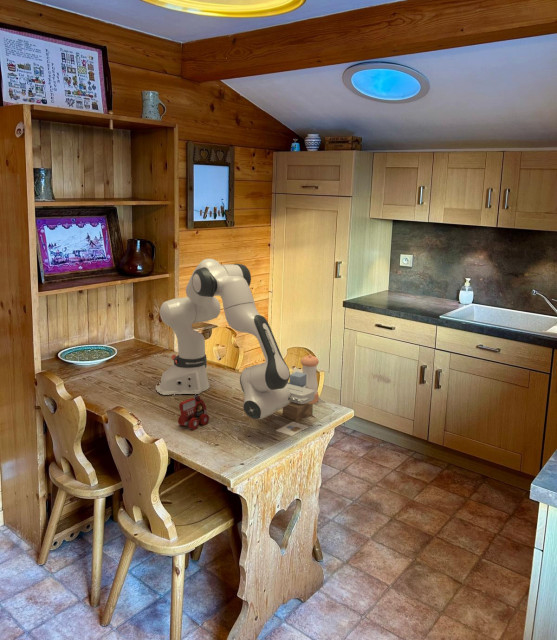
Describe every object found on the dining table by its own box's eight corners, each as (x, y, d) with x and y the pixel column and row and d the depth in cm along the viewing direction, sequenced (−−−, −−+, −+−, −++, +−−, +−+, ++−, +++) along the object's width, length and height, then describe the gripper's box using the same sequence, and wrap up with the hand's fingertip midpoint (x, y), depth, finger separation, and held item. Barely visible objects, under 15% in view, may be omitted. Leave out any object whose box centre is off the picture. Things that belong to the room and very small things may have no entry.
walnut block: (297, 421, 225) (297, 408, 224) (282, 414, 231) (282, 402, 229) (312, 415, 230) (312, 403, 229) (297, 409, 236) (298, 397, 235)
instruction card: (291, 436, 212) (291, 435, 211) (276, 431, 216) (276, 430, 216) (308, 427, 219) (308, 426, 219) (293, 422, 223) (293, 421, 223)
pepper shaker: (320, 398, 246) (321, 353, 241) (314, 405, 239) (315, 358, 235) (303, 396, 249) (304, 351, 244) (297, 402, 242) (297, 356, 237)
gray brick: (299, 402, 226) (299, 377, 223) (289, 400, 228) (289, 375, 226) (305, 399, 229) (306, 374, 227) (295, 396, 232) (296, 371, 229)
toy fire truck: (212, 421, 224) (212, 395, 221) (188, 433, 214) (187, 405, 211) (199, 417, 228) (198, 390, 225) (174, 427, 218) (173, 400, 215)
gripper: (303, 394, 211) (323, 382, 222) (255, 382, 222) (277, 372, 233) (302, 411, 212) (322, 399, 223) (255, 398, 223) (277, 387, 234)
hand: (299, 385), depth 228 cm, fingers closed on gray brick, 4 cm apart
